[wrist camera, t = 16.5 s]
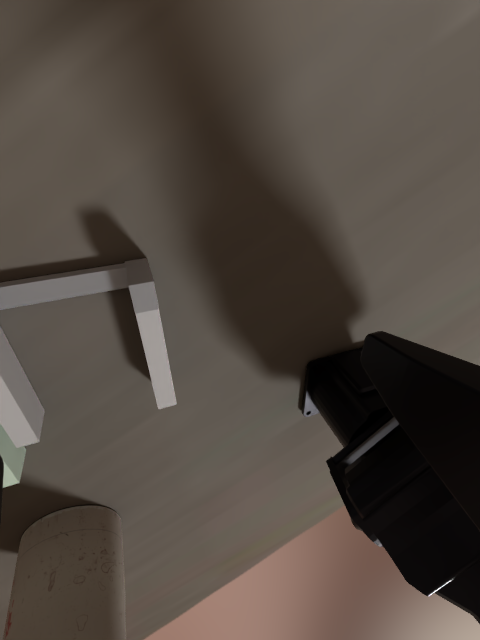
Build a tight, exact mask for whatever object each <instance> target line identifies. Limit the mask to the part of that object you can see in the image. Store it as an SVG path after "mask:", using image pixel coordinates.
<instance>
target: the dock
mask: <svg viewBox="0 0 480 640" xmlns="http://www.w3.org/2000/svg"><path fill="white" fill-rule="evenodd" d="M123 288H129V290H130V294H131V298H132V303H133V307H134V311H135V314H136V318H137V322H138V326H139V330H140V335H141V339H142V343H143V347H144V351H145V355H146V360H147V364H148V368H149V372H150V376H151V381H152V385H153V389H154V393H155V397H156V401H157V406H158V409H162V408H165V407H169V406H173V405H176V404H177V403H176V397H175V392H174V387H173V382H172V376H171V371H170V366H169V361H168V355H167V350H166V345H165V340H164V334H163V329H162V324H161V319H160V313H159V306H158V301H157V295H156V290H155V285H154V280H153V277H152V273H151V270H150V267H149V263H148V260H147V258H143V259H137V260H130V261H125V263H122V264H116V265H109V266H103V267H96V268H90V269H84V270H77V271H71V272H64V273H58V274H52V275H45V276H39V277H32V278H26V279H19V280H13V281H7V282H0V310H3V309H8V308H14V307H20V306H26V305H31V304H37V303H43V302H48V301H54V300H60V299H66V298H71V297H77V296H83V295H88V294H94V293H100V292H106V291H111V290H117V289H123ZM44 412H45V410H44V409H43V407H42V405H41V403H40V401H39V399H38V397H37V395H36V393H35V391H34V390H33V388H32V386H31V384H30V382H29V380H28V378H27V376H26V374H25V372H24V370H23V369H22V367H21V365H20V363H19V361H18V359H17V357H16V355H15V353H14V351H13V350H12V348H11V346H10V344H9V342H8V340H7V338H6V336H5V334H4V332H3V330H2V329H1V327H0V424H1V425H2V427H3V428H4V430H5V431H6V433H7V434H8V436H9V437H10V439H11V440H12V442H13V443H14V445H15V446H16V448H19V447H23V446H26V445H30V444H34V443H37V442H39V441H40V435H41V429H42V423H43V417H44Z"/></svg>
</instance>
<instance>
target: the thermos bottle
mask: <svg viewBox="0 0 480 640" xmlns="http://www.w3.org/2000/svg"><path fill="white" fill-rule="evenodd" d="M3 640H126V608H125V580H124V561H123V542H122V524H121V519H120V516H119V515H118V514H117V513H116V512H115V511H113V510H112V509H109V508H106V507H102V506H93V505H86V506H76V507H71V508H66V509H63V510H59V511H56V512H54V513H51V514H49V515H46V516H45V517H43V518H41V519H39V520H38V521H36V522H35V523H33V524H32V525H31V526H30V527H29V528H28V529H27V530H26V531H25V532H24V534H23V536H22V537H21V541H20V546H19V551H18V557H17V563H16V568H15V574H14V580H13V585H12V591H11V597H10V602H9V608H8V614H7V620H6V625H5V631H4V637H3Z"/></svg>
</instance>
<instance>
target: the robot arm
mask: <svg viewBox="0 0 480 640" xmlns="http://www.w3.org/2000/svg"><path fill="white" fill-rule="evenodd" d="M318 413H320V414H321V415H322V417H323V418H324V420H325V421H326V422H327V424H328V425H329V427H330V428H331V430H332V431H333V432H334V434H335V435H336V437H337V438H338V440H339V441H340V443H341V444H342V445H343V447H344V448H343V449H342V450H341V451H340V452H338V453H337V454H336V455H335V456H334V457H330V458H329V459H328V460H327V461H326V462H327V464H328V467H329V469H330V474H331V476H332V478H333V480H334V482H335V484H336V487H337V489H338V491H339V493H340V495H341V498H342V500H343V502H344V504H345V506H346V509H347V511H348V513H349V515H350V517H351V521H352V523H353V525H354V526H355V528H356V529H358V530H361V531H363V532H364V533H365V534H366V535H367V536H368V538H370V539H371V540H372V541H373V542H374V543H375V544H377V545H378V546H380V547H384V548H385V549H386V551H387V552H388V554H389V555H390V557H391V558H392V560H393V561H394V563H395V564H396V566H397V567H398V569H399V570H400V572H401V574H402V575H403V577H404V578H405V580H406V581H407V582H408V583H409V584H410V585H412V586H413V587H415V588H416V589H417V590H419V591H420V592H422V593H423V594H424V595H426V596H430V595H431V594H433V593H436V594H437V595H439V596H441V597H442V598H444V599H446V600H447V601H449V602H451V603H453V604H454V605H456V606H458V607H460V608H461V609H463V610H465V611H466V612H468V613H470V614H471V615H472V616H474V618H475V619H476V620H477V621H478V623H479V624H480V366H478V365H476V364H473V363H470V362H467V361H464V360H462V359H459V358H456V357H453V356H450V355H448V354H445V353H442V352H439V351H436V350H434V349H431V348H428V347H425V346H422V345H420V344H417V343H414V342H411V341H408V340H406V339H403V338H400V337H397V336H394V335H392V334H389V333H386V332H383V331H378V332H375V333H371V334H368V335H367V336H366V337H365V341H364V345H363V348H359V349H356V350H352V351H348V352H344V353H341V354H337V355H333V356H330V357H326V358H322V359H318V360H315V361H312V362H310V363H309V364H308V365H307V370H306V379H305V387H304V396H303V404H302V414H303V415H304V416H305V417H308V416H311V415H315V414H318ZM3 476H4V463H3V459H2V457H1V455H0V523H1V507H2V492H3Z"/></svg>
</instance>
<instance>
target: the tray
mask: <svg viewBox="0 0 480 640" xmlns="http://www.w3.org/2000/svg"><path fill="white" fill-rule="evenodd" d="M25 453H26V449H25V447H24V446H23V447H19V448H16V446H15V445H14V443H13V442H12V440H11V439H10V437H9V436H8V434H7V433H6V431H5V430H4V428H3V427H2V425H1V424H0V455H1V457H2V459H3V463H4V476H3V488H4V487H7V486H11V485H14V484H17V483H20V478H21V473H22V468H23V463H24V458H25Z"/></svg>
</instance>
